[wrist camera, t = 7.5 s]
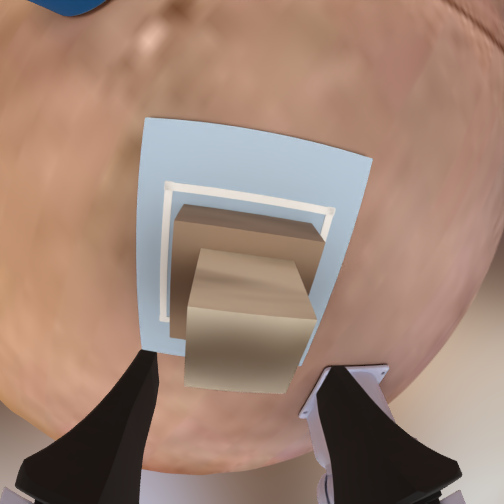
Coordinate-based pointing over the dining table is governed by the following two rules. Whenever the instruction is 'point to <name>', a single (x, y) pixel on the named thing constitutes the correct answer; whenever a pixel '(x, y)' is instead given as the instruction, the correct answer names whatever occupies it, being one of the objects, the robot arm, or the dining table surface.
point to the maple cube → (245, 323)
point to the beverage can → (69, 6)
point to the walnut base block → (235, 248)
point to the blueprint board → (237, 202)
